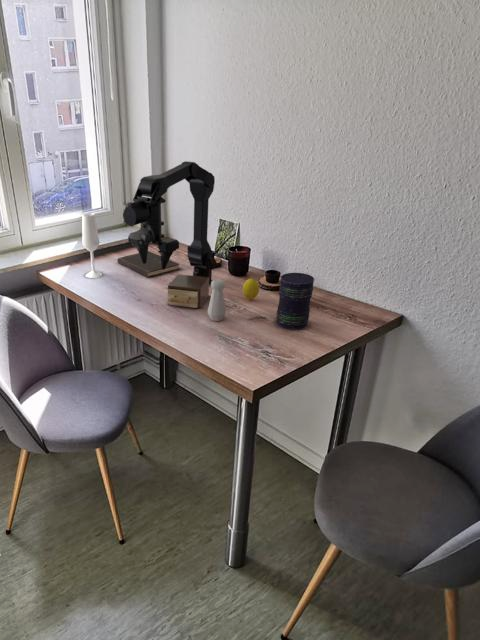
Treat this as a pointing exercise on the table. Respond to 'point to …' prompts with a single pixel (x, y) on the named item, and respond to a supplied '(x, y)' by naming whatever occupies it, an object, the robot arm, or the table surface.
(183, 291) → the drawer
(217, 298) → the white bowling pin
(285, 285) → the storage jar
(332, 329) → the table surface
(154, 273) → the hardcover book
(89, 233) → the champagne flute
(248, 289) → the lemon
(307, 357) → the table surface
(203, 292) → the cabinet
